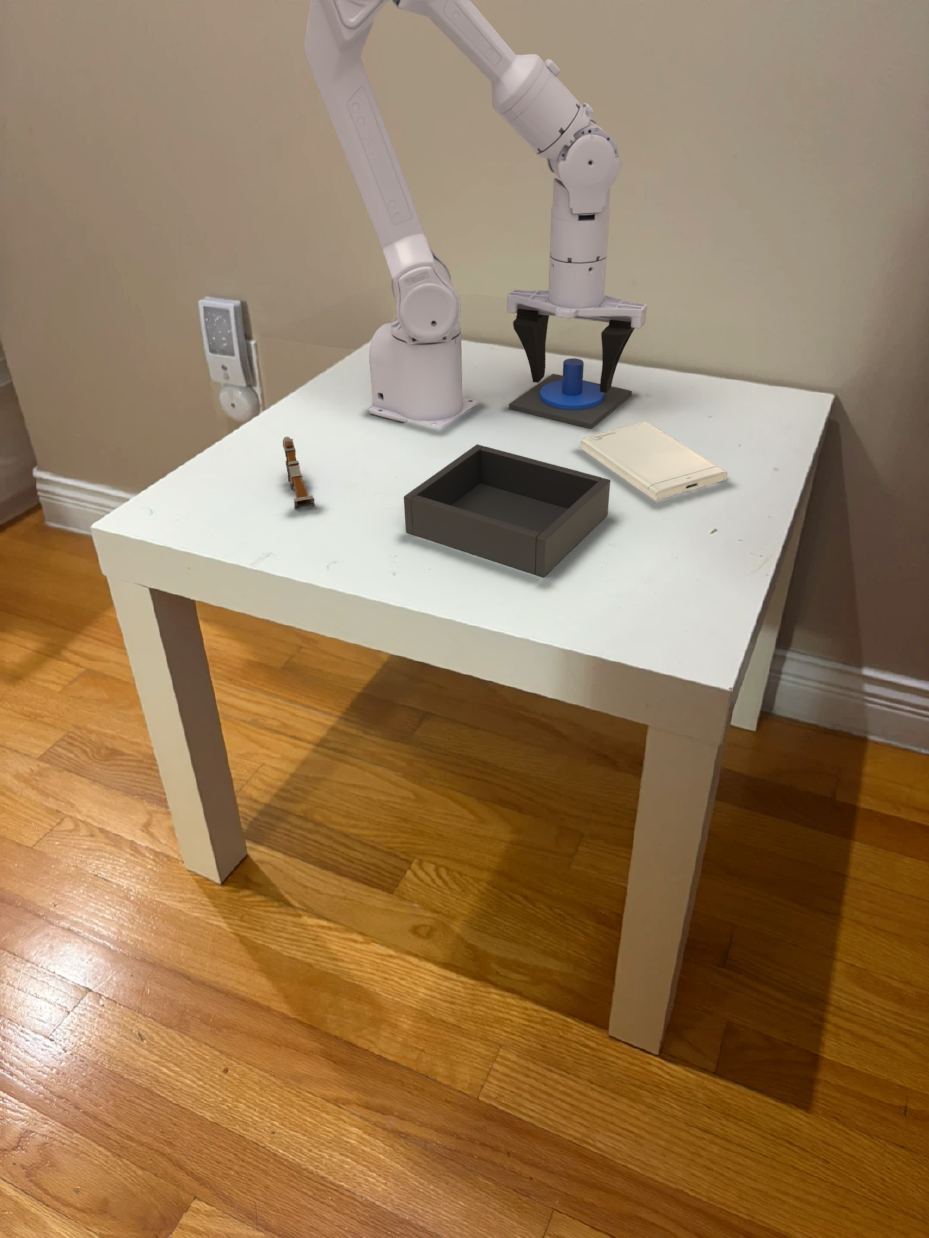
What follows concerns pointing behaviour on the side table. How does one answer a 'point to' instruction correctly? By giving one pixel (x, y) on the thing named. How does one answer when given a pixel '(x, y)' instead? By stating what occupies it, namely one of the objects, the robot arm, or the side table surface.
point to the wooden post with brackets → (295, 474)
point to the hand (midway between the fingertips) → (571, 384)
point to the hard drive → (652, 460)
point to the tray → (508, 508)
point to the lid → (572, 389)
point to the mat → (582, 417)
